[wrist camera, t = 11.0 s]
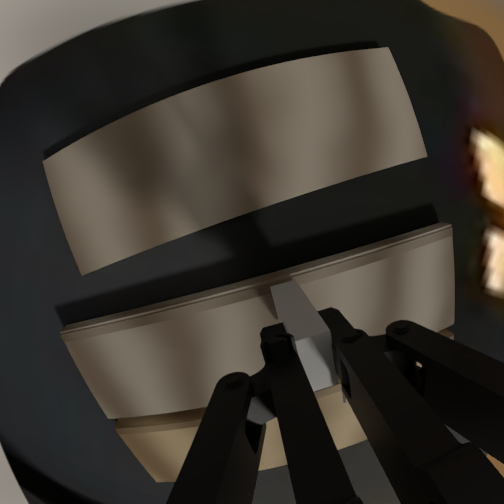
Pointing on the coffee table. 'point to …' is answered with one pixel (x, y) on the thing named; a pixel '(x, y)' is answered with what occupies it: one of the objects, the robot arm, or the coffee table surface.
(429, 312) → the board
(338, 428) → the laid board
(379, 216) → the coffee table surface
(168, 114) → the plank
